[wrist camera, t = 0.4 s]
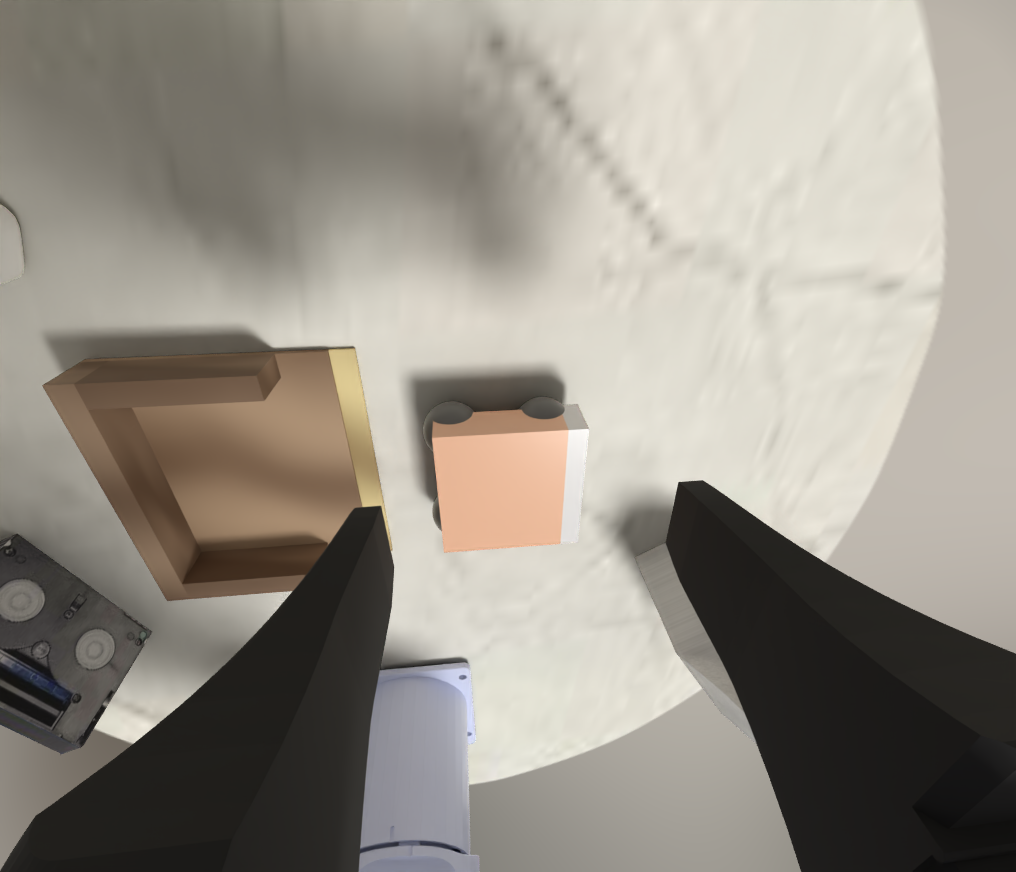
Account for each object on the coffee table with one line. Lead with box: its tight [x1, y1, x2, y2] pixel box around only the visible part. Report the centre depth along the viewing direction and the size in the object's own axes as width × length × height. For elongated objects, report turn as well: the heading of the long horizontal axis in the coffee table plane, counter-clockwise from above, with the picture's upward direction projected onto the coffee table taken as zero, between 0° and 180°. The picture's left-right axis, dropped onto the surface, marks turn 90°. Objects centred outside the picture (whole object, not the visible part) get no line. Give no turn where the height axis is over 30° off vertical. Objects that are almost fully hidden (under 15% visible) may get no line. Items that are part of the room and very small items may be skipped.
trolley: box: [423, 397, 589, 553], centre depth 21 cm, size 7×6×3 cm
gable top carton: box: [635, 542, 756, 743], centre depth 24 cm, size 4×7×10 cm, turn 32°
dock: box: [42, 348, 392, 601], centre depth 20 cm, size 11×10×2 cm
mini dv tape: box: [0, 534, 152, 754], centre depth 22 cm, size 8×2×6 cm, turn 22°
